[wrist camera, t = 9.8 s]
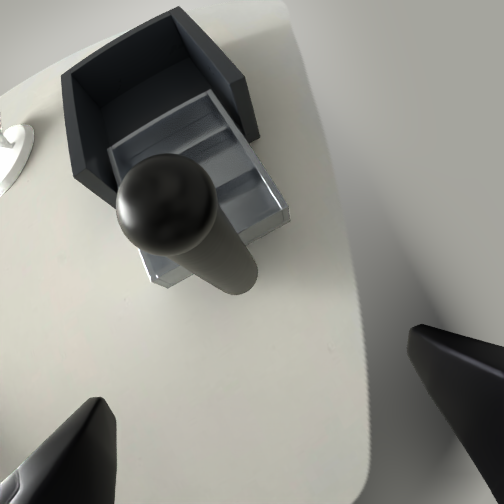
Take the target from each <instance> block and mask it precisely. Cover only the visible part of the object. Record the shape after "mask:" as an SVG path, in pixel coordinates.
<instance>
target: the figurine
mask: <svg viewBox="0 0 504 504" xmlns="http://www.w3.org/2000/svg"><path fill="white" fill-rule="evenodd" d="M2 128H3V127H1V114H0V196H1V195H2V194H3V193H5V192H6V191H7V190H8V189H9V188H10V186H11V185H12V184H13V183H14V182H15V180H16V179H17V177H18V176H19V174H20V173H21V171H22V169H23V168H24V166H25V164H26V162H27V160H28V158H29V155H30V152H31V150H32V146H33V142H34V130H33V128H32V127H31V125H28V124H21V125H14V126H12V127H10V128H9V129H7V130H6V131H5V132H4V133H2Z"/></svg>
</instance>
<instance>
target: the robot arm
mask: <svg viewBox="0 0 504 504" xmlns="http://www.w3.org/2000/svg"><path fill="white" fill-rule="evenodd" d="M407 354H408V357H409V359H410V361H411V363H412V365H413V366H414V368H415V370H416V372H417V374H418V375H419V377H420V379H421V381H422V383H423V385H424V387H425V388H426V390H427V392H428V394H429V395H430V397H431V398H432V400H433V401H434V403H435V404H436V406H437V407H438V409H439V410H440V412H441V413H442V414H443V416H444V417H445V419H446V420H447V422H448V423H449V425H450V426H451V428H452V429H453V431H454V433H455V434H456V436H457V437H458V439H459V440H460V442H461V443H462V445H463V446H464V448H465V449H466V451H467V453H468V454H469V456H470V457H471V459H472V460H473V462H474V464H475V465H476V467H477V468H478V470H479V472H480V473H481V475H482V477H483V478H484V480H485V482H486V483H487V485H488V487H489V488H490V490H491V492H492V494H493V495H494V497H495V499H496V501H497V502H498V504H504V347H502V346H499V345H495V344H491V343H488V342H484V341H481V340H477V339H473V338H470V337H466V336H462V335H459V334H455V333H452V332H448V331H445V330H441V329H438V328H435V327H431V326H428V325H424V324H420V325H417V326H415V327H412V328H411V329H410V331H409V336H408V345H407ZM116 472H117V444H116V419H115V416H114V414H113V413H112V411H111V409H110V408H109V406H108V404H107V403H106V401H105V399H104V398H102V397H93V398H89V399H88V400H87V401H86V402H85V403H84V404H83V405H82V406H81V407H79V408H78V409H77V410H76V411H75V412H74V413H73V414H72V415H71V416H70V417H69V418H68V419H67V420H66V421H65V422H64V423H63V424H62V425H61V426H60V427H59V428H58V429H57V430H56V431H55V432H54V433H53V434H52V435H51V436H49V437H48V438H47V439H46V440H45V441H44V442H43V443H42V444H41V445H40V446H39V447H38V448H37V449H36V450H35V451H34V452H33V453H32V454H31V455H30V456H29V457H28V458H27V459H26V460H25V461H24V462H23V463H22V464H21V465H20V466H19V467H18V469H15V470H14V471H13V472H12V473H11V474H10V475H9V476H8V477H7V478H6V479H5V480H4V481H3V482H2V483H1V484H0V504H114V501H115V486H116Z"/></svg>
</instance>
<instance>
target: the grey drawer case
mask: <svg viewBox="0 0 504 504" xmlns="http://www.w3.org/2000/svg"><path fill="white" fill-rule="evenodd" d="M61 85H62V98H63V108H64V118H65V126H66V134H67V141H68V148H69V154H70V160H71V166H72V172H73V177H74V178H75V179H76V180H78V181H79V182H80V183H82V184H83V185H84V186H85V187H87V188H88V189H89V190H91V191H92V192H93V193H95V194H96V195H97V196H99V197H100V198H101V199H103V200H104V201H105V202H107V203H108V204H110V205H111V206H112V207H114V208H115V209H116V199H117V193H118V187H117V184H116V180H115V177H114V174H113V170H112V167H111V163H110V160H109V156H108V153H107V149H108V148H109V147H111V146H112V145H114V144H115V143H117V142H118V141H120V140H122V139H123V138H125V137H126V136H128V135H129V134H131V133H132V132H134V131H136V130H137V129H139V128H141V127H142V126H144V125H146V124H147V123H149V122H151V121H152V120H154V119H156V118H157V117H159V116H161V115H163V114H164V113H166V112H168V111H170V110H171V109H173V108H175V107H177V106H179V105H180V104H182V103H184V102H186V101H188V100H190V99H192V98H194V97H196V96H198V95H199V94H201V93H203V92H206V91H207V90H209V89H212V91H213V92H214V94H215V95H216V97H217V98H218V99H219V101H220V102H221V104H222V105H223V107H224V108H225V110H226V111H227V112H228V114H229V115H230V117H231V118H232V120H233V121H234V123H235V124H236V126H237V127H238V129H239V130H240V132H241V133H242V134H243V136H244V137H245V139H246V140H247V142H248V143H250V142H252V141H254V140H256V139H258V138H260V134H259V130H258V126H257V122H256V118H255V114H254V110H253V106H252V102H251V98H250V95H249V91H248V87H247V83H246V79H245V76H244V75H243V74H242V73H241V72H240V71H239V70H238V68H237V67H236V66H235V65H234V64H233V63H232V62H231V60H230V59H229V58H228V57H227V56H226V55H225V54H224V53H223V51H222V50H221V49H220V48H219V47H218V46H217V45H216V44H215V43H214V42H213V41H212V39H211V38H210V37H209V36H208V35H207V34H206V33H205V32H204V31H203V30H202V29H201V28H200V27H199V26H198V25H197V24H196V23H195V22H194V21H193V20H192V19H191V18H190V17H189V15H188V14H187V13H186V12H185V11H184V10H183V9H182V8H180V7H179V6H178V7H176V8H174V9H172V10H169V11H168V12H165V13H163V14H161V15H159V16H157V17H155V18H153V19H151V20H149V21H147V22H145V23H143V24H141V25H139V26H137V27H136V28H134V29H132V30H130V31H128V32H127V33H125V34H123V35H121V36H120V37H118V38H116V39H115V40H113V41H111V42H110V43H108V44H106V45H105V46H103V47H102V48H100V49H98V50H97V51H95V52H94V53H92V54H91V55H89V56H88V57H86V58H85V59H83V60H82V61H80V62H79V63H77V64H76V65H75V66H73V67H72V68H71V69H69V70H68V71H66V72H65V73H64V74H62V75H61Z"/></svg>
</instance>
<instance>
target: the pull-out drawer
mask: <svg viewBox="0 0 504 504" xmlns="http://www.w3.org/2000/svg"><path fill="white" fill-rule="evenodd" d="M107 153H108V156H109V160H110V163H111V167H112V170H113V174H114V177H115V180H116V184H117V187H118V193H117V199H116V213H117V218H118V222H119V224H120V227H121V229H122V231H123V233H124V234H125V236H126V237H127V238H128V239H129V240H130V242H131V243H133V244H134V245H135V246H136V247H138V249H139V252H140V254H141V257H142V260H143V262H144V265H145V267H146V270H147V273H148V275H149V278H150V280H151V282H153V283H155V284H158V285H160V286H163V287H165V288H170V287H171V286H173V285H175V284H177V283H179V282H181V281H182V280H184V279H186V278H188V277H190V276H191V275H193V274H195V275H197V276H198V277H200V278H202V279H203V280H205V281H207V282H208V283H210V284H212V285H213V286H215V287H217V288H218V289H220V290H222V291H223V292H225V293H228V294H231V295H239V294H243V293H245V292H247V291H248V290H250V289H251V288H252V287H253V285H254V284H255V282H256V280H257V277H258V267H257V264H256V262H255V260H254V259H253V257H252V255H251V254H250V252H249V251H248V249H247V248H246V245H248V244H250V243H252V242H254V241H255V240H257V239H259V238H261V237H263V236H265V235H267V234H268V233H270V232H272V231H274V230H276V229H278V228H279V227H281V226H283V225H285V224H287V223H289V222H290V221H291V220H290V213H289V206H288V204H287V202H286V201H285V199H284V198H283V196H282V194H281V193H280V191H279V190H278V188H277V187H276V185H275V183H274V182H273V180H272V179H271V177H270V176H269V174H268V172H267V171H266V169H265V168H264V166H263V165H262V163H261V162H260V160H259V159H258V157H257V156H256V154H255V153H254V151H253V150H252V148H251V146H250V145H249V143H248V142H247V140H246V139H245V137H244V136H243V134H242V133H241V132H240V130H239V129H238V127H237V126H236V124H235V123H234V121H233V120H232V118H231V117H230V115H229V114H228V112H227V111H226V110H225V108H224V107H223V105H222V104H221V102H220V101H219V99H218V98H217V97H216V95H215V94H214V92H213V91H212V89H209V90H207V91H206V92H203V93H201V94H199V95H198V96H196V97H194V98H192V99H190V100H188V101H186V102H184V103H182V104H180V105H179V106H177V107H175V108H173V109H171V110H170V111H168V112H166V113H164V114H163V115H161V116H159V117H157V118H156V119H154V120H152V121H151V122H149V123H147V124H146V125H144V126H142V127H141V128H139V129H137V130H136V131H134V132H132V133H131V134H129V135H128V136H126V137H125V138H123V139H122V140H120V141H118V142H117V143H115V144H114V145H112V146H111V147H109V148H108V149H107Z"/></svg>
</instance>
